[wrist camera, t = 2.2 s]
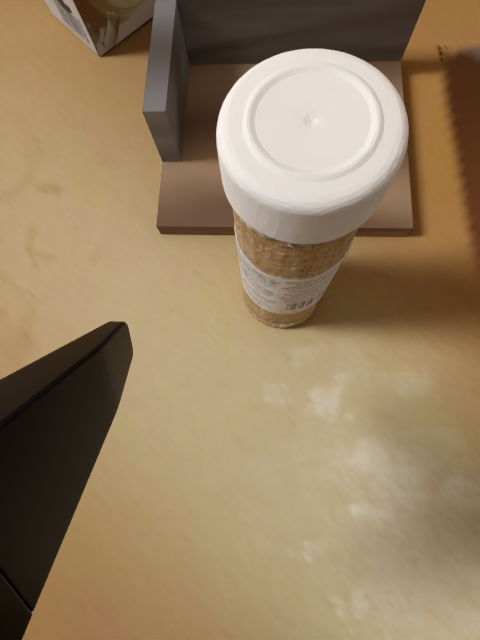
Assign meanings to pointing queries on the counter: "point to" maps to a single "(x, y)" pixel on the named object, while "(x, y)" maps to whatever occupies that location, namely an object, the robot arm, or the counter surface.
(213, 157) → the corner arena
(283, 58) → the sprinkles bottle
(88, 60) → the counter surface
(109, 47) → the coffee box
